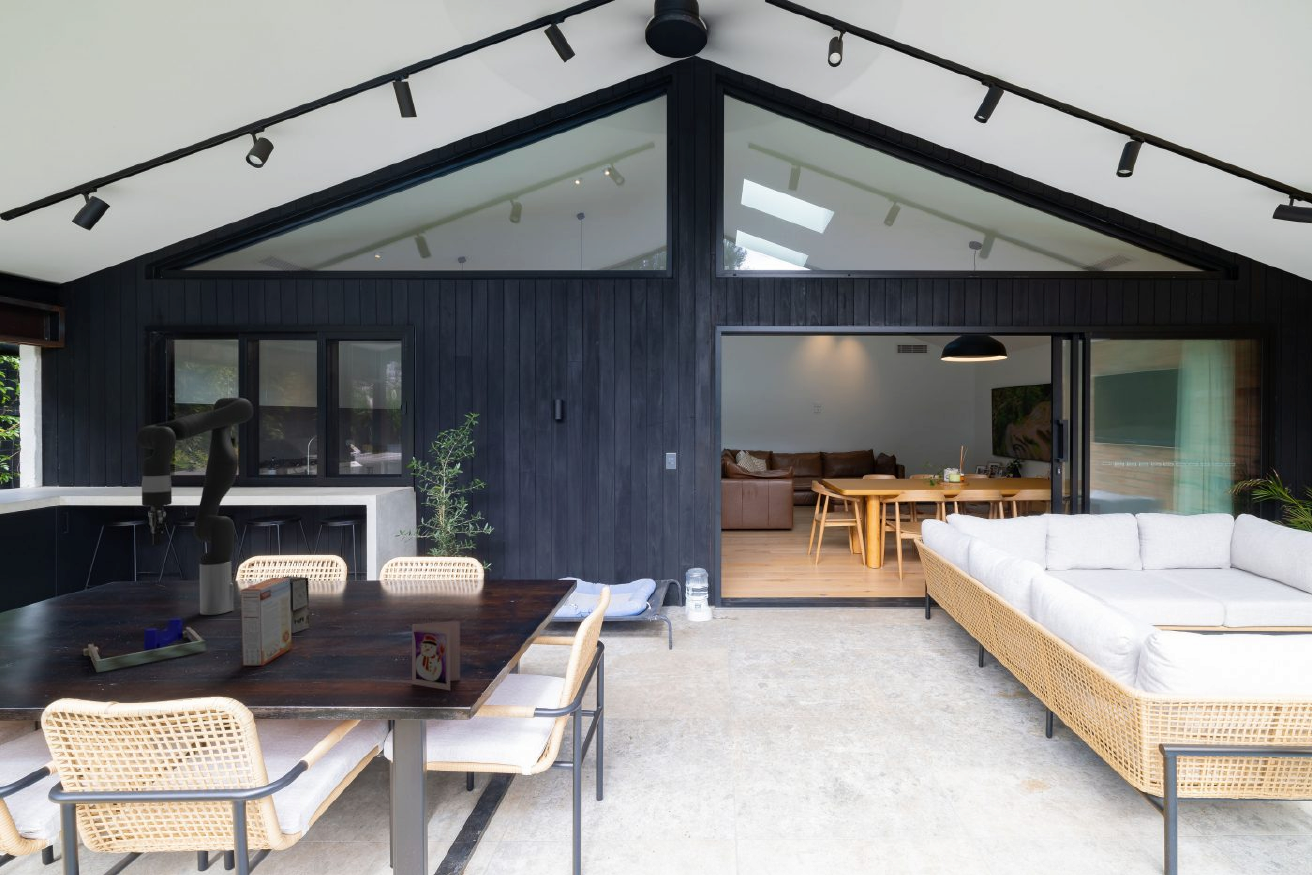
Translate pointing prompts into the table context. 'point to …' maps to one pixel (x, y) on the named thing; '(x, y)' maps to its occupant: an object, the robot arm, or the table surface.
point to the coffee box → (299, 603)
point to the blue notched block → (163, 635)
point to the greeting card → (436, 654)
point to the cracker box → (265, 621)
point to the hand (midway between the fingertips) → (157, 544)
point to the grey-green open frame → (146, 653)
